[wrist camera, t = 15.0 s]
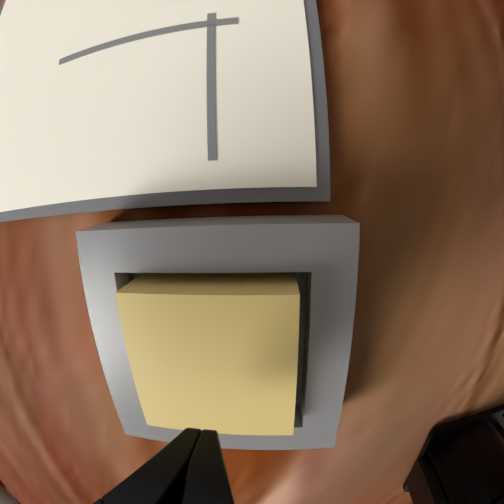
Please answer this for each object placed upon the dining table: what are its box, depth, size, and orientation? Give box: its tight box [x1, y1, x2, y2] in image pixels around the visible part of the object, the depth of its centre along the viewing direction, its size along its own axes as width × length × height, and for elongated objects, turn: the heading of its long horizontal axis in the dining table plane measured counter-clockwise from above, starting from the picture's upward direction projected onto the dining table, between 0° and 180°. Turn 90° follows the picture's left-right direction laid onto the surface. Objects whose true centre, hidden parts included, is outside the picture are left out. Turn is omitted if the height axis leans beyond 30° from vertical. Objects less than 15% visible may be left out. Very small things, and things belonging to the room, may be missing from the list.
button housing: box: [76, 215, 360, 450], centre depth 11 cm, size 9×9×2 cm
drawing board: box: [0, 0, 331, 222], centre depth 9 cm, size 18×18×1 cm
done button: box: [115, 272, 300, 435], centre depth 10 cm, size 5×5×2 cm
